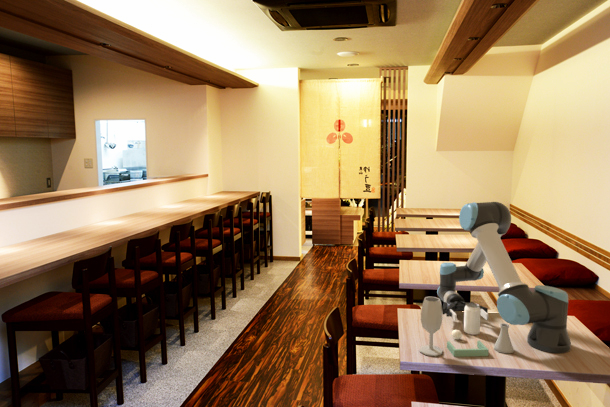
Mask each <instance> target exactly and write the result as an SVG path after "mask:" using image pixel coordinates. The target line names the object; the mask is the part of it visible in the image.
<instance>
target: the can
mask: <svg viewBox="0 0 610 407" xmlns="http://www.w3.org/2000/svg"><path fill="white" fill-rule="evenodd" d="M479 306H480V304H478V303H475V302H473V303H470V302H466V306H465V308H464V310H463V332H464V333H465V334H468V335H471V336H472V335H473V336H477V335H480V334H481V315H480V314H481V309H480V307H479Z"/></svg>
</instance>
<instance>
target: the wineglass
mask: <svg viewBox="0 0 610 407" xmlns="http://www.w3.org/2000/svg"><path fill="white" fill-rule="evenodd" d="M442 308H443V305H442V300H441V299H440V298H439V297H436V296H425V297H424V299H423V301H422V304H421V312H420V322H421V327H422V329H424V330H425V331H427V333H428V334H429V340H428V341H429V344H425V345H421V346H420V348H419V353H421V354H423V355H425V356H429V357H438V356H441V355H442V354H443V348H441V347H438V346H437V345H434V334H436V332H438V331H439V330H441V327H442V323H443V319H444V318H443V317H444V316H443V311H442Z"/></svg>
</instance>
